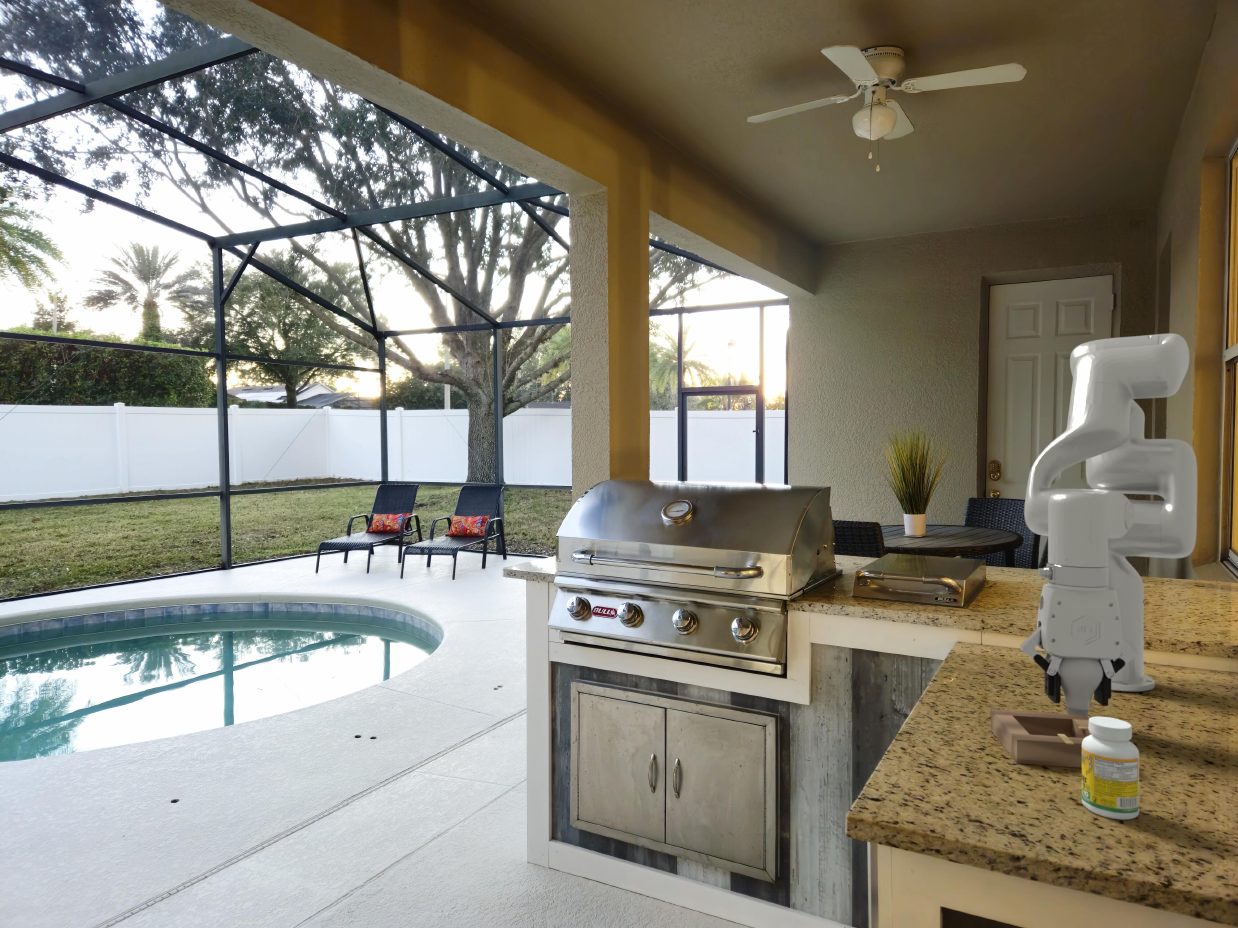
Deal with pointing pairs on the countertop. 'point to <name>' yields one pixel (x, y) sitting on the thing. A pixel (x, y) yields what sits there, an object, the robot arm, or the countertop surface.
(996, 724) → the socket block
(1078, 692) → the lightbulb
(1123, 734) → the supplement bottle
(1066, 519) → the robot arm
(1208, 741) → the countertop surface
